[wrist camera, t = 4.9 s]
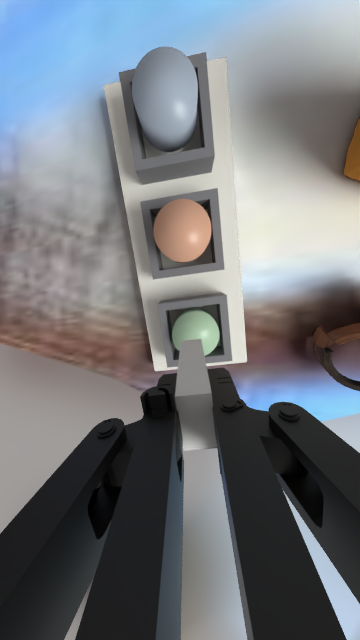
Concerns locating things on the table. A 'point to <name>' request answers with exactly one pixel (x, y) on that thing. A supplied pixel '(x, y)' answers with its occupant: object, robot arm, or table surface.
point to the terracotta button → (182, 230)
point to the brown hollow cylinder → (325, 354)
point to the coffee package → (353, 156)
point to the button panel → (194, 184)
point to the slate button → (166, 98)
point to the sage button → (196, 328)
